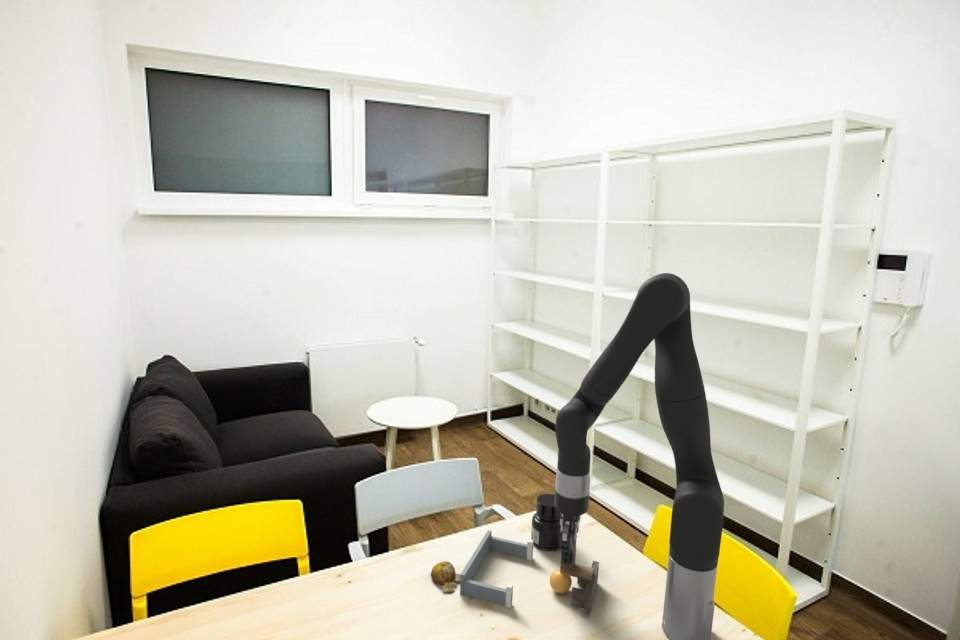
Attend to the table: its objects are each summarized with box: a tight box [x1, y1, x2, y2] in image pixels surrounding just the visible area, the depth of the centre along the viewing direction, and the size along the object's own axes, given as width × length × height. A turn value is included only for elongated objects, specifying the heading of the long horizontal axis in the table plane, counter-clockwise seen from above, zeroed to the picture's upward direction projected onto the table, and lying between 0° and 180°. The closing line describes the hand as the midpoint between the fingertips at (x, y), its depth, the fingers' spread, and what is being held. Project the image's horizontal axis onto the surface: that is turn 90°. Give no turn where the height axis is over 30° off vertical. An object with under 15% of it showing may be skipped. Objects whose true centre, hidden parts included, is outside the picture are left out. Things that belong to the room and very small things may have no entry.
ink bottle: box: [530, 493, 562, 552], centre depth 143 cm, size 10×9×12 cm
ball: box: [549, 568, 573, 594], centre depth 124 cm, size 5×5×5 cm
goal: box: [459, 529, 534, 609], centre depth 129 cm, size 12×19×5 cm, turn 160°
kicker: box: [559, 533, 600, 616], centre depth 122 cm, size 8×12×14 cm, turn 160°
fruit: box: [430, 560, 461, 594], centre depth 128 cm, size 8×8×4 cm
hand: (568, 558), depth 123 cm, fingers open, 3 cm apart
